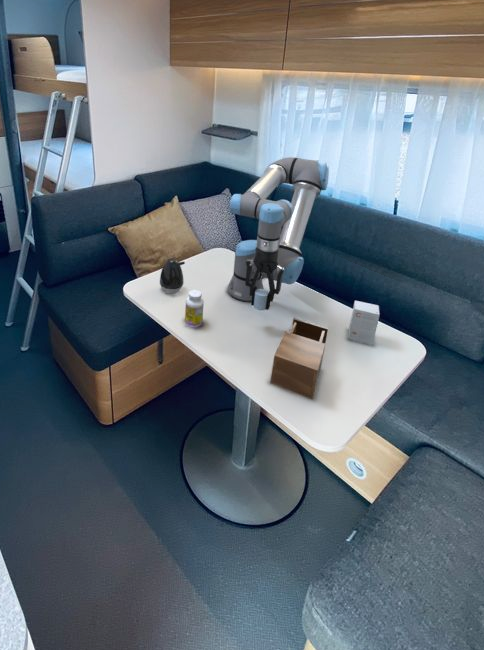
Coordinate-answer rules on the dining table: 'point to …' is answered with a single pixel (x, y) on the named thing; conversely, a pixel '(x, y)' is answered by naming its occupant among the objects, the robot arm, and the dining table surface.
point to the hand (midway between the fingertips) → (260, 305)
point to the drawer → (309, 330)
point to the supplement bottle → (194, 309)
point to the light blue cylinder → (260, 299)
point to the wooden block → (297, 364)
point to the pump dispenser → (171, 276)
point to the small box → (363, 322)
